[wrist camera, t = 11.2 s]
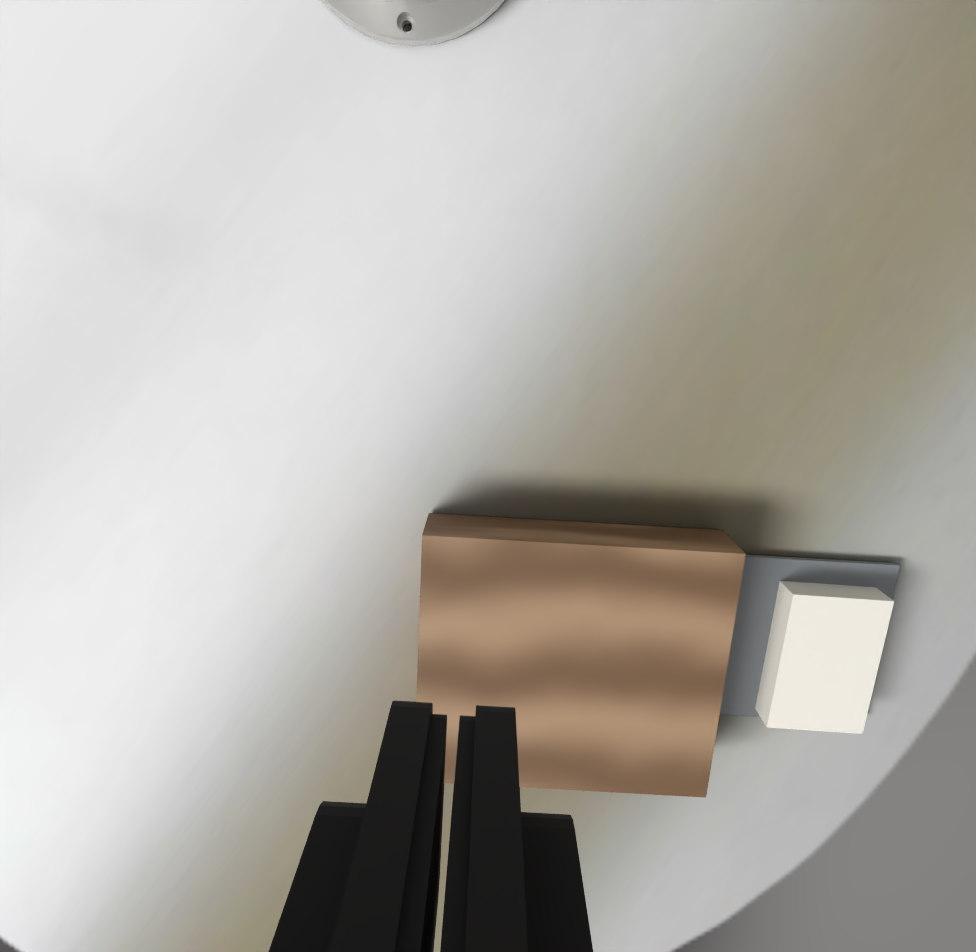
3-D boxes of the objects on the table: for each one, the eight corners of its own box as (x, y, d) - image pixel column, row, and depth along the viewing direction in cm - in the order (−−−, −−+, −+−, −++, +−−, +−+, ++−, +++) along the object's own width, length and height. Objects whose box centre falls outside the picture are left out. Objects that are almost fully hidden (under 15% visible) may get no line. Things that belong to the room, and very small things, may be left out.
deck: (429, 513, 42) (422, 535, 38) (722, 530, 42) (745, 553, 38) (420, 740, 46) (413, 781, 42) (688, 755, 46) (705, 797, 42)
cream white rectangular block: (894, 601, 41) (876, 587, 43) (793, 594, 41) (779, 580, 43) (862, 733, 43) (846, 714, 45) (766, 727, 43) (755, 708, 45)
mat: (722, 553, 43) (724, 555, 42) (896, 563, 43) (900, 565, 42) (698, 709, 45) (699, 713, 45) (861, 718, 45) (864, 722, 45)
